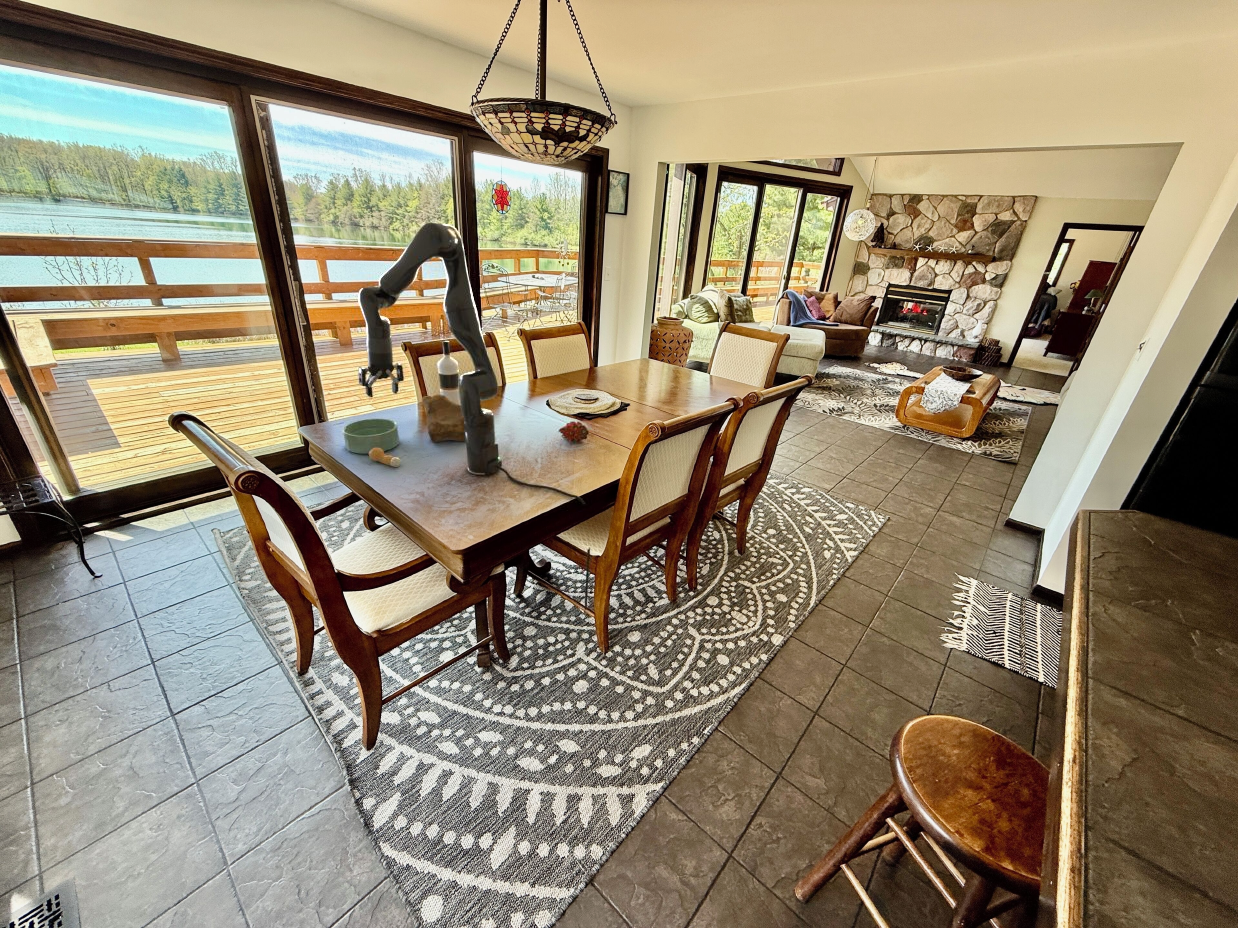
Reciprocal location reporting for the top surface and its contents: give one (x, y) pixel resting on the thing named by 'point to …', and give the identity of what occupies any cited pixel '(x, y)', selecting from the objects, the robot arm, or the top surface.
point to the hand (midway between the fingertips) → (382, 394)
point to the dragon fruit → (574, 431)
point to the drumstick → (384, 457)
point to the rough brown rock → (443, 419)
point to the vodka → (448, 375)
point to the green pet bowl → (371, 435)
